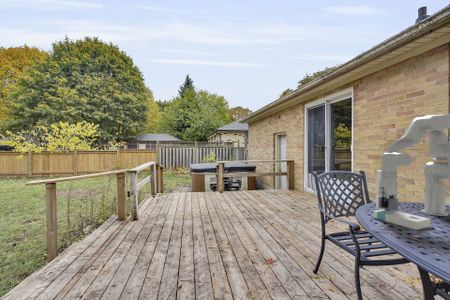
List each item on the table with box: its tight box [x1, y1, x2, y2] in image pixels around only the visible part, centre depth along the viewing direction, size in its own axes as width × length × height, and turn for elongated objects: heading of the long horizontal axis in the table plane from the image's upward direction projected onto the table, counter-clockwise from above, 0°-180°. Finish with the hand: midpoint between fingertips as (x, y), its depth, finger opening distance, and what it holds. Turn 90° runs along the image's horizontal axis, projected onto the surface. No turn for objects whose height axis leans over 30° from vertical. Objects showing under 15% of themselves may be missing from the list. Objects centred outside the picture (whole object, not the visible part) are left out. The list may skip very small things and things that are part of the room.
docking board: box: [372, 209, 431, 231], centre depth 133 cm, size 22×12×4 cm, turn 25°
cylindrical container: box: [375, 169, 389, 210], centre depth 160 cm, size 7×7×25 cm
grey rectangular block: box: [378, 197, 399, 213], centre depth 139 cm, size 6×7×10 cm
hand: (388, 206), depth 139 cm, fingers closed on grey rectangular block, 6 cm apart
